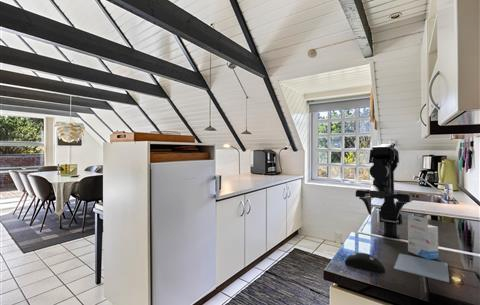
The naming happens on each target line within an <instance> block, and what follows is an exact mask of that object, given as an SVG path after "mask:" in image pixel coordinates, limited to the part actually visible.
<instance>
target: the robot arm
mask: <svg viewBox="0 0 480 305" xmlns="http://www.w3.org/2000/svg"><path fill="white" fill-rule="evenodd" d="M399 155H400V152H399V151H398V150H397V149H396V148H395V147H394V144H393V143H382V144H379V145H375V146H372V147H371V149H370V150H369V159H368V163H369V164H373V165H371V167H370V168H369V175H370V177H372V178H373V180H372V185H371V186H370V187H369V189H366V188H359V189H356V190H355V197H356V198H358V199H359V200H361V201H363V204H364V205H365V207H366V210H367V212H368V215H369V216H371V215H372V210H373V209H372V199H378V200H383V203H382V204H381V206H380V209H379V210H378V215H379V218H378V219H379V223H382V224H383V232H382V233H381V236H384V237H390V238H395V239H398V238H399V236H400V233H398V226H401V225H403V215H402V213H401V212H402V209H403V207H404V205H407V204H408V203H412V202H413V194H412V193H411V192H403V191H402V192H401V191H400V192H398V193H395V171H396V169H397V167H398V165H399V164H400V156H399ZM395 200H397V201H395Z"/></svg>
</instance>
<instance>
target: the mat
mask: <svg viewBox="0 0 480 305" xmlns="http://www.w3.org/2000/svg"><path fill="white" fill-rule="evenodd" d="M448 266H449V265H448V263H447V262H443V261H437V260H434V259H426V258H424V257H420V256H414V255H408V254H404V253H398V257H397V259H396V261H395V264H394V266H393V270H397V271H401V272H405V273H408V274H413V275H416V276H420V277H425V278H429V279H431V280H437V281H440V282H445V283H450V274H449V267H448Z"/></svg>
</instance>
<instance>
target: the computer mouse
mask: <svg viewBox="0 0 480 305" xmlns="http://www.w3.org/2000/svg"><path fill="white" fill-rule="evenodd" d="M344 264H345V265H346V266H348V267H351V268H354V269H358V270H362V271H366V272H370V273H377V274H383V273H385V271H386V268H385V266H384V265H383V263H382V262H381V261H380V260H379V259H378V258H376V257H375V256H374V255H372V254H368V253H364V252H356V253H352V254H349V255H348V256H347V257H346V259H345V261H344Z"/></svg>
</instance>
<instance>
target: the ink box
mask: <svg viewBox="0 0 480 305" xmlns="http://www.w3.org/2000/svg"><path fill="white" fill-rule="evenodd" d="M407 251H408V252H409V253H412V254H413V255H415V256H417V257H420V258H424V259H429V260H437V259H438V260H439V258H440V257H439V226H435V225H432V224H429V219H428V218H426V217H422V216H417V215H413V214H408V215H407Z"/></svg>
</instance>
